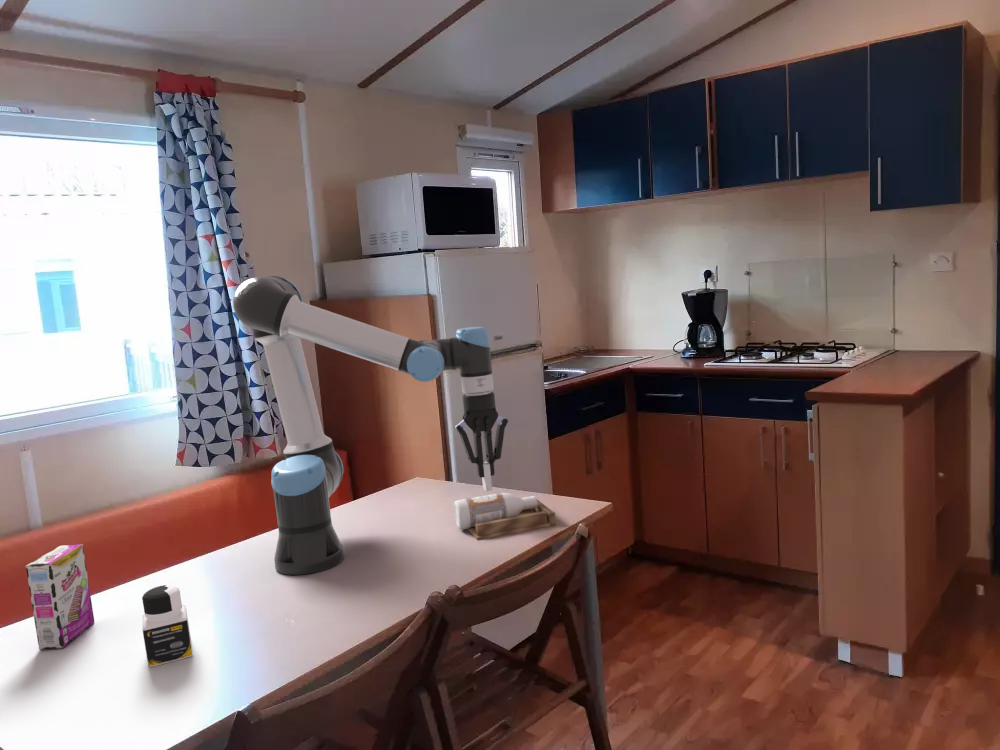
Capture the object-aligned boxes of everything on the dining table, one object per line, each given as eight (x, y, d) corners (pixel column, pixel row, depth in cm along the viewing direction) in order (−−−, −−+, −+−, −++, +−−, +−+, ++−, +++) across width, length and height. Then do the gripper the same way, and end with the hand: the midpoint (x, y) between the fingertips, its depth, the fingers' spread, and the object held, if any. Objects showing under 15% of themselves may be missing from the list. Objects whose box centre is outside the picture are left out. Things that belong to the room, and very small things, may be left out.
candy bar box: (64, 649, 146) (49, 563, 144) (38, 651, 146) (23, 566, 144) (97, 622, 157) (83, 542, 155) (72, 624, 157) (58, 544, 155)
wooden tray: (476, 540, 184) (475, 527, 183) (462, 523, 197) (461, 510, 197) (555, 525, 189) (554, 512, 189) (536, 509, 203) (535, 497, 202)
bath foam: (452, 497, 193) (530, 483, 198) (454, 524, 195) (532, 510, 200) (458, 505, 187) (539, 492, 192) (461, 533, 188) (541, 519, 193)
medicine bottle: (148, 668, 135) (137, 601, 134) (148, 651, 142) (138, 587, 140) (193, 657, 138) (182, 591, 136) (191, 640, 145) (181, 578, 143)
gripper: (455, 398, 182) (465, 498, 185) (509, 390, 186) (518, 488, 189) (447, 394, 189) (457, 490, 193) (500, 387, 193) (508, 481, 196)
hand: (487, 489), depth 191 cm, fingers closed
